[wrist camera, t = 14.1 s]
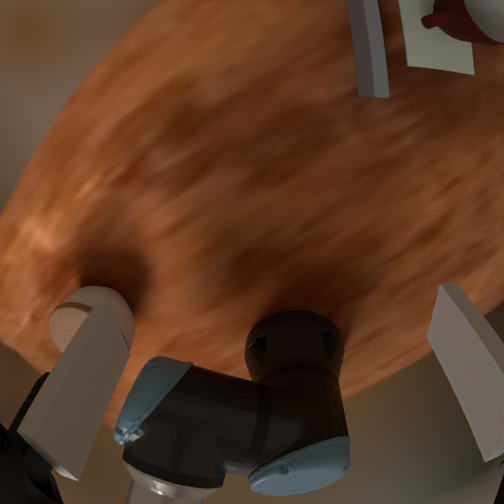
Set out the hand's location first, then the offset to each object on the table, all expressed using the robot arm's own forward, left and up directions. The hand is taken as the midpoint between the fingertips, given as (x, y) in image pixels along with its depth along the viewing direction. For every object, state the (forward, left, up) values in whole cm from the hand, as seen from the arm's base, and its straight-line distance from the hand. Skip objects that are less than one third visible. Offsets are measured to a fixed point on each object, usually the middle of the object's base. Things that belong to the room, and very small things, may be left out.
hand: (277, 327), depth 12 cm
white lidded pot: (-18, +27, -27) cm, 42 cm away
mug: (+18, -22, -27) cm, 39 cm away
